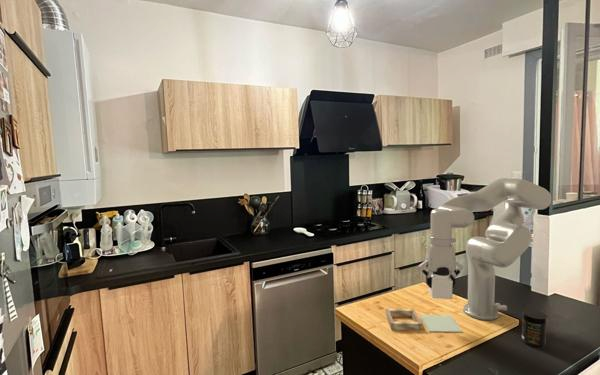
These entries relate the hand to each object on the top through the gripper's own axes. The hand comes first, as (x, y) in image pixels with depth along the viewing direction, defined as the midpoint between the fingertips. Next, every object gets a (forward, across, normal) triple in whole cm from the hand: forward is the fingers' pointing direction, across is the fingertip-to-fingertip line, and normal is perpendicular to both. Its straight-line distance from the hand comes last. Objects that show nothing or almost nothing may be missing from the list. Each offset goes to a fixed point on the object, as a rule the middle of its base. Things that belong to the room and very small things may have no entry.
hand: (440, 286), depth 124 cm
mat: (+15, 0, 0) cm, 15 cm away
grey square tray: (+15, +14, -1) cm, 21 cm away
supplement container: (+15, -27, +12) cm, 33 cm away
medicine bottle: (+4, 0, 0) cm, 4 cm away
